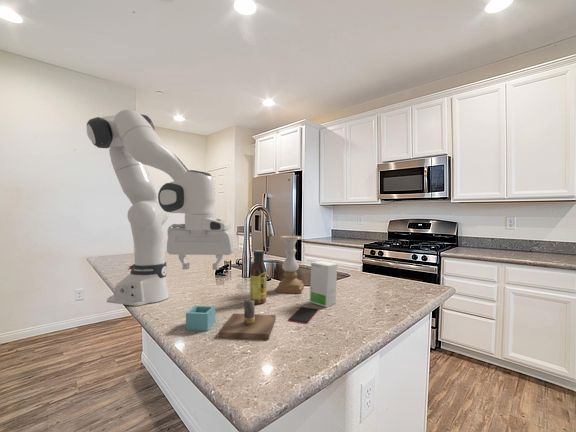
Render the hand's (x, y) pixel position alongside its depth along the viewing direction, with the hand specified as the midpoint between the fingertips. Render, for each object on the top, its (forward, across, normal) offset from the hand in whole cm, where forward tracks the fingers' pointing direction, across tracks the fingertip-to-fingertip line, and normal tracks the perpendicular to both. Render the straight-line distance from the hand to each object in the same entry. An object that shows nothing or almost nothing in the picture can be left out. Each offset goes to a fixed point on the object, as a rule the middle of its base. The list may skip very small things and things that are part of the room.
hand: (200, 269), depth 85 cm
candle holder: (+18, +24, +42) cm, 52 cm away
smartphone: (+18, +31, +12) cm, 38 cm away
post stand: (+18, +15, 0) cm, 23 cm away
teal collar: (+17, 0, 0) cm, 17 cm away
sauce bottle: (+18, +13, +24) cm, 33 cm away
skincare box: (+18, +38, +25) cm, 49 cm away
